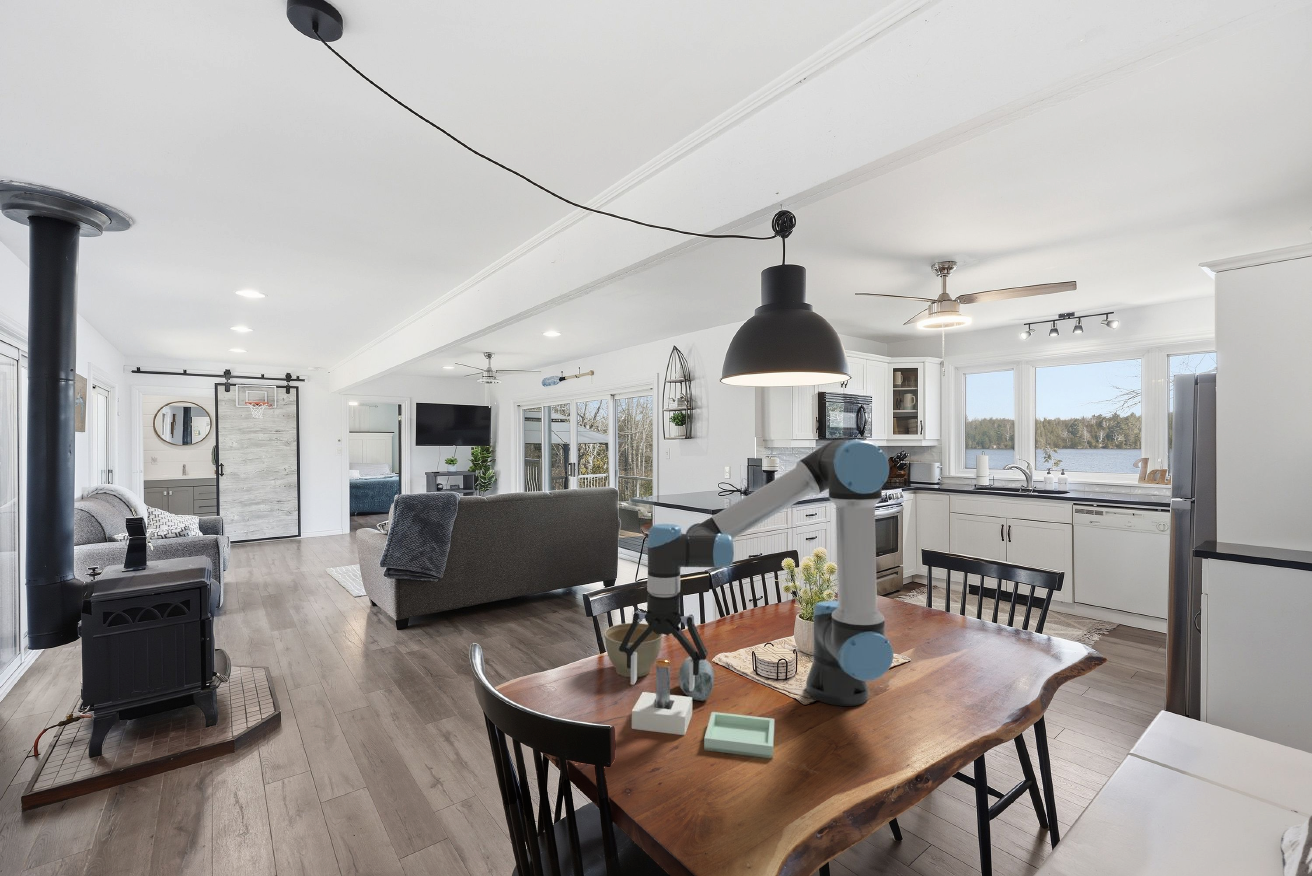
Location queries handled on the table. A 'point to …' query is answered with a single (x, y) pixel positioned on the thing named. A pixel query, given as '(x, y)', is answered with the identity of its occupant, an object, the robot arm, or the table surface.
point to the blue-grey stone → (697, 680)
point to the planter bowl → (645, 650)
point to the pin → (663, 683)
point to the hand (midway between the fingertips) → (662, 685)
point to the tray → (740, 735)
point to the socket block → (662, 714)
